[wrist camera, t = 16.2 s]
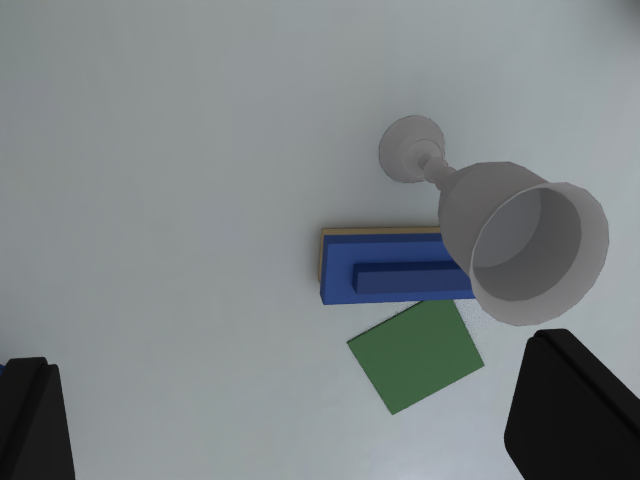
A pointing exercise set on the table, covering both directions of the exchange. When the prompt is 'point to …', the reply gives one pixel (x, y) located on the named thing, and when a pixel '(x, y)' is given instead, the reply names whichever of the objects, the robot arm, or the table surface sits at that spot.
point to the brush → (388, 266)
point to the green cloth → (416, 353)
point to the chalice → (505, 226)
